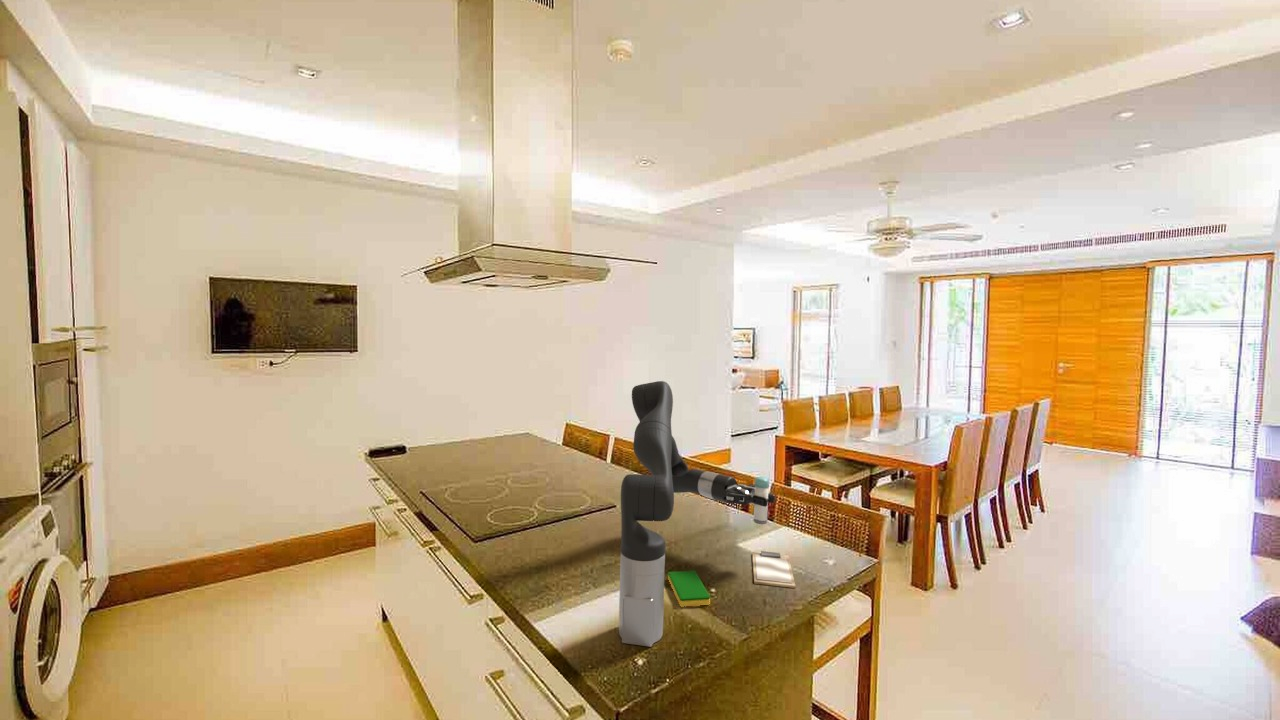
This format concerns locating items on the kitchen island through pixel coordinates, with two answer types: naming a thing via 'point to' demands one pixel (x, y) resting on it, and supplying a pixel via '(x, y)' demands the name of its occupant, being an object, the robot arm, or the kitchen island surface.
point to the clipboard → (772, 569)
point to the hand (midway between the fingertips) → (770, 500)
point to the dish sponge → (688, 588)
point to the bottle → (762, 491)
